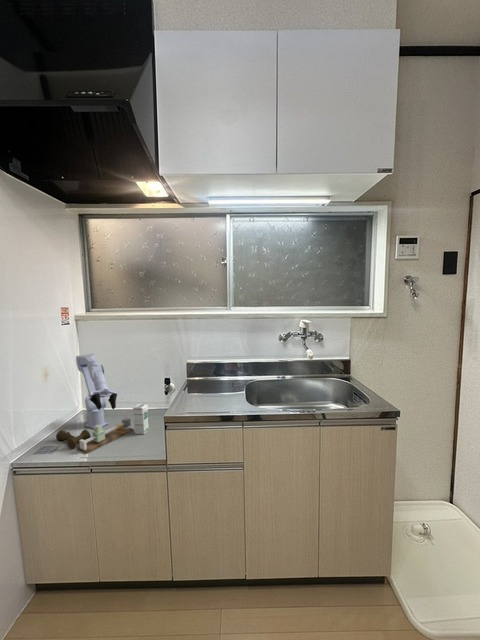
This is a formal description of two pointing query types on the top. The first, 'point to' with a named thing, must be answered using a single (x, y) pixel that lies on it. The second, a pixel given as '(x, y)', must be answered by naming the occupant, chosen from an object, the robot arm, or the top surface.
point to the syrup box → (141, 418)
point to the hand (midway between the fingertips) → (107, 408)
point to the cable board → (106, 439)
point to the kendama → (72, 438)
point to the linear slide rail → (125, 424)
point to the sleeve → (99, 433)
